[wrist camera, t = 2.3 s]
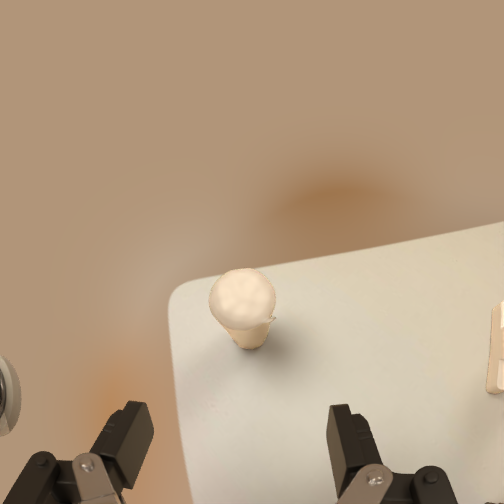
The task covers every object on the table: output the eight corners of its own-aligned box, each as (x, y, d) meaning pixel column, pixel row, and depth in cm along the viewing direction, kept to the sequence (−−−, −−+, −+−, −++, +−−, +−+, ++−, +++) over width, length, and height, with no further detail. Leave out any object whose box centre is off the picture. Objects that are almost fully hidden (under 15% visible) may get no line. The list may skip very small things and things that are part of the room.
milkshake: (253, 373, 26) (244, 345, 18) (215, 331, 29) (189, 283, 20) (291, 340, 28) (300, 296, 19) (252, 300, 30) (243, 242, 22)
